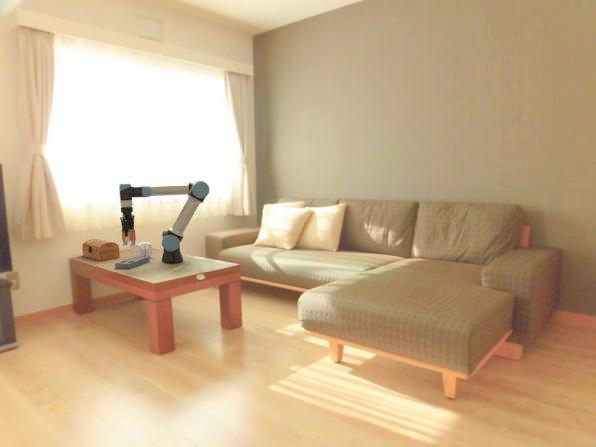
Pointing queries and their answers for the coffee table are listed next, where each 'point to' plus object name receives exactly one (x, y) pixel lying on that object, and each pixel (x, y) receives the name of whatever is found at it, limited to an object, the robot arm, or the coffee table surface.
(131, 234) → the clip
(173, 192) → the robot arm
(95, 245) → the wooden box
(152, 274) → the coffee table surface
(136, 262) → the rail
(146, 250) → the cable organizer
